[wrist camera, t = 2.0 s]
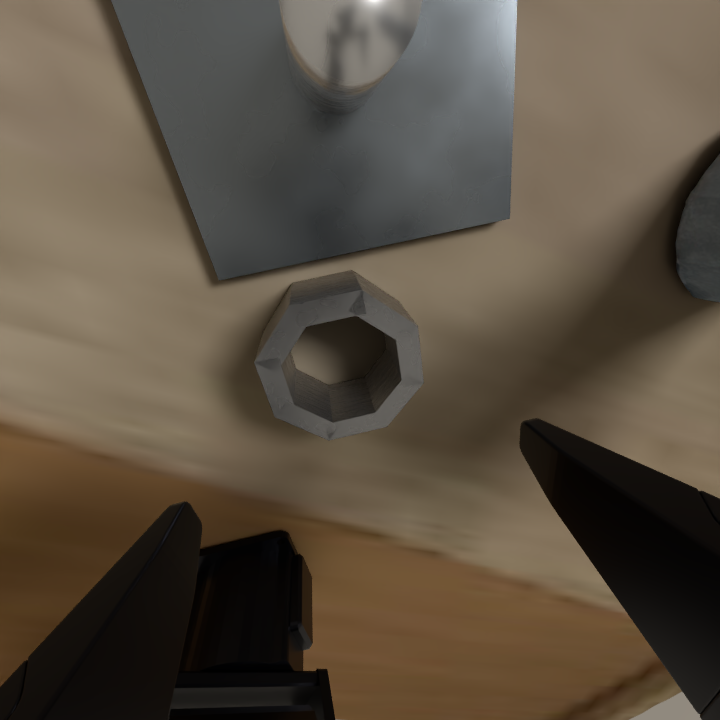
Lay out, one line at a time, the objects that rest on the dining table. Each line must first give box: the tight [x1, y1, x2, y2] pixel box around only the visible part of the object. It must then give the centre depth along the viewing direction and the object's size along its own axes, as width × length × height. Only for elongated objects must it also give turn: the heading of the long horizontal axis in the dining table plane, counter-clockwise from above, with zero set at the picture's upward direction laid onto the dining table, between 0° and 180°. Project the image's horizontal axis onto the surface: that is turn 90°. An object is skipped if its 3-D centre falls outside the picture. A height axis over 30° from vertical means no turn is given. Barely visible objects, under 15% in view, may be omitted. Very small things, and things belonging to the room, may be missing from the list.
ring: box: [254, 270, 424, 440], centre depth 15 cm, size 6×6×3 cm
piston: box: [111, 0, 517, 280], centre depth 9 cm, size 12×12×5 cm
